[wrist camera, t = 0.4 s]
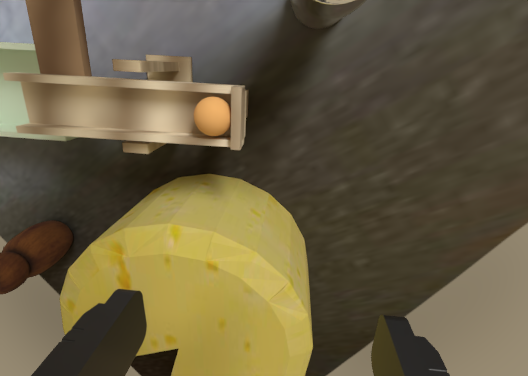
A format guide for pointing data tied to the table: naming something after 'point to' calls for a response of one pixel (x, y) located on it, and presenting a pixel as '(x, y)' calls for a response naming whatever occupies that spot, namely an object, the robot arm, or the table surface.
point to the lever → (110, 91)
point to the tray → (17, 90)
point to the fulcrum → (161, 71)
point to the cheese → (206, 278)
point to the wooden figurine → (33, 253)
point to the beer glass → (323, 11)
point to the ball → (212, 116)
